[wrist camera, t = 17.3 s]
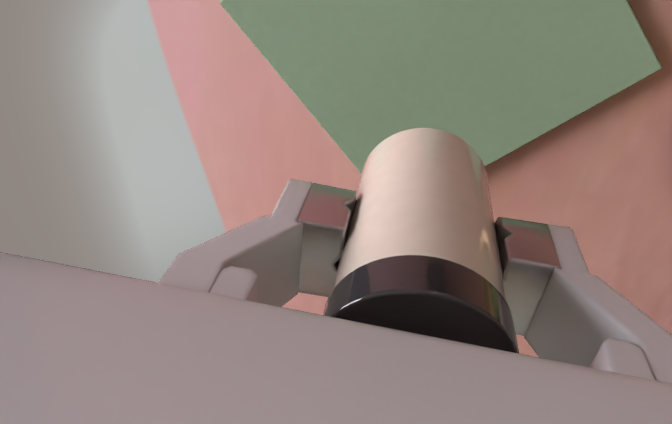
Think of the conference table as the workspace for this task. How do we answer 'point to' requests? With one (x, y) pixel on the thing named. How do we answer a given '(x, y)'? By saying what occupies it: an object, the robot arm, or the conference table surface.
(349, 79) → the sage mat
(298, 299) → the conference table surface
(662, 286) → the conference table surface
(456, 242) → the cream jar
